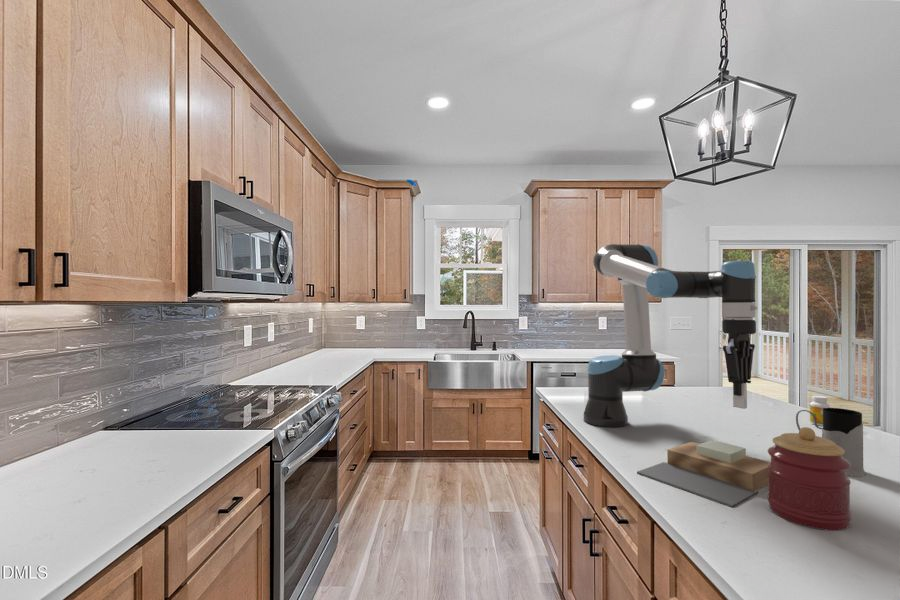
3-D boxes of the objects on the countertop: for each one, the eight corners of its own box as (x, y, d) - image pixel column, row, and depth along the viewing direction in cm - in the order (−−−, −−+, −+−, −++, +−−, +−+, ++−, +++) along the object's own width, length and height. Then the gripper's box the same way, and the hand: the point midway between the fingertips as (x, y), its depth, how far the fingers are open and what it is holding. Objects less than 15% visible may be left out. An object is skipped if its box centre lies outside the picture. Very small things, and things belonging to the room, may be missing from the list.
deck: (667, 464, 116) (667, 449, 116) (691, 455, 122) (691, 441, 122) (752, 491, 99) (752, 474, 99) (775, 480, 106) (775, 463, 106)
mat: (636, 473, 110) (636, 471, 110) (663, 463, 117) (663, 462, 117) (732, 507, 92) (732, 505, 92) (757, 493, 98) (757, 491, 98)
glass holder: (859, 479, 106) (858, 417, 106) (789, 461, 118) (789, 405, 118) (871, 471, 111) (870, 412, 111) (803, 455, 123) (802, 401, 123)
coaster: (696, 453, 112) (696, 445, 112) (712, 448, 117) (712, 439, 117) (730, 463, 106) (730, 454, 106) (745, 456, 110) (745, 448, 110)
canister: (827, 538, 80) (826, 440, 80) (753, 507, 92) (753, 423, 92) (865, 523, 85) (865, 432, 85) (791, 496, 97) (790, 416, 97)
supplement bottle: (806, 421, 157) (806, 394, 157) (822, 422, 157) (822, 395, 157) (816, 426, 152) (816, 398, 152) (833, 426, 151) (833, 398, 151)
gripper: (742, 319, 110) (744, 413, 110) (765, 318, 118) (766, 407, 117) (711, 319, 117) (712, 408, 116) (734, 318, 124) (736, 402, 123)
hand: (740, 407), depth 117 cm, fingers closed
